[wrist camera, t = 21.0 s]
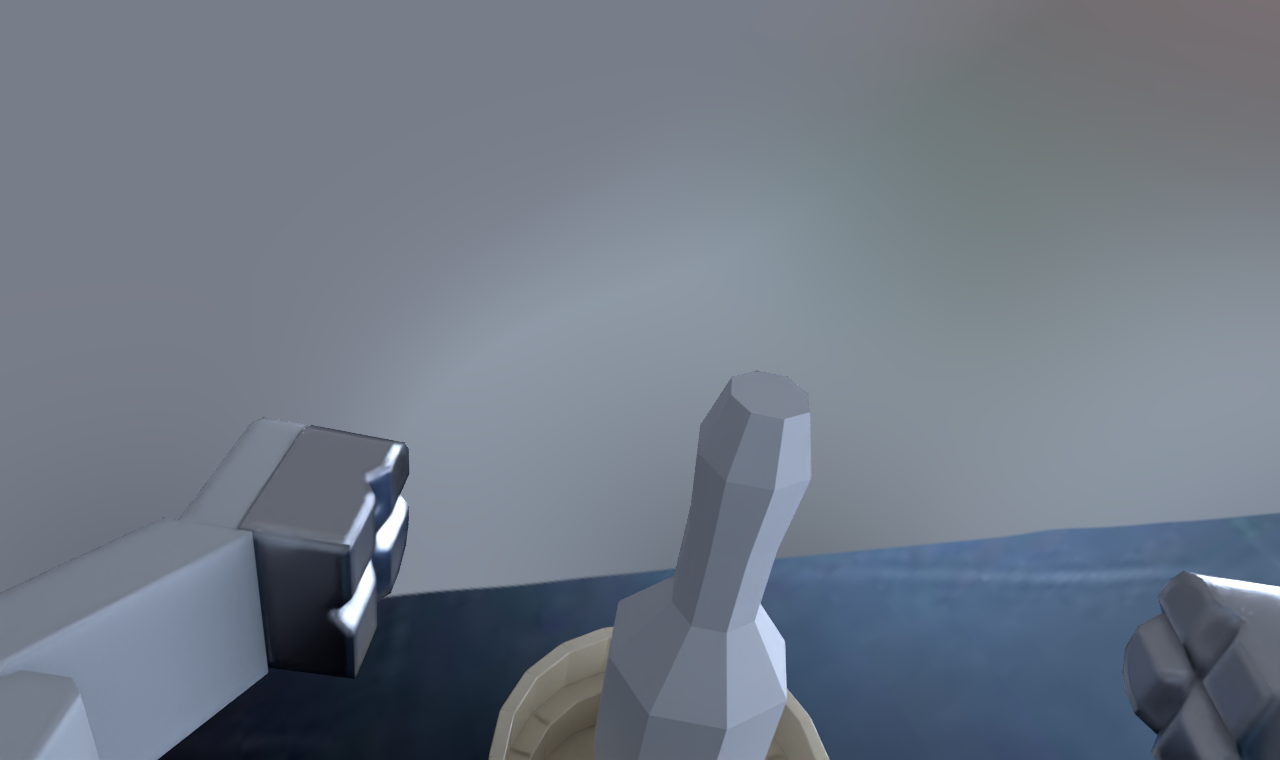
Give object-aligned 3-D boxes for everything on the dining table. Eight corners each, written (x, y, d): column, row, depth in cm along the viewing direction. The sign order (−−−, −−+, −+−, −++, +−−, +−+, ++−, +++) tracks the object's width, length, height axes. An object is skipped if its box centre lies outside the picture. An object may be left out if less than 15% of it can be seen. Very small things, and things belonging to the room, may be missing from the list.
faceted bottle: (745, 896, 36) (924, 463, 24) (587, 923, 34) (692, 471, 22) (701, 752, 41) (829, 334, 29) (561, 769, 39) (635, 332, 27)
